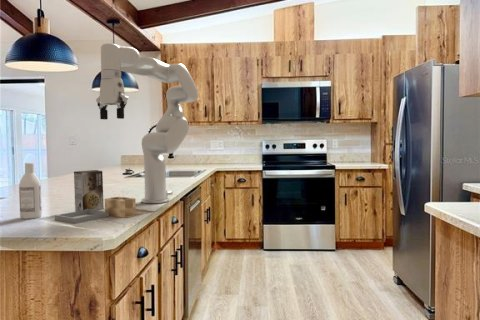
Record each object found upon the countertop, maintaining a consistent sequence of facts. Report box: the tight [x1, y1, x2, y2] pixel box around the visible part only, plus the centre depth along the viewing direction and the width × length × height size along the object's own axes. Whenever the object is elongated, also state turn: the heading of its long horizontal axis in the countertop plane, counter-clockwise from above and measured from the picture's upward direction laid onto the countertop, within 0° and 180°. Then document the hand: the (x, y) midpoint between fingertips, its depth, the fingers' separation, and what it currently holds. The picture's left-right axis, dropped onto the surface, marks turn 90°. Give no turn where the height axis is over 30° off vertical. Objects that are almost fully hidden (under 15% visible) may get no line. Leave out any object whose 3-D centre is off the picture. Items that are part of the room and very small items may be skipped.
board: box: [113, 208, 157, 219], centre depth 145 cm, size 15×12×1 cm
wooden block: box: [104, 196, 137, 218], centre depth 142 cm, size 9×6×6 cm
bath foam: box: [18, 162, 42, 220], centre depth 140 cm, size 7×7×20 cm
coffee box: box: [73, 169, 105, 212], centre depth 152 cm, size 9×6×16 cm
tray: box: [54, 209, 110, 224], centre depth 136 cm, size 14×12×2 cm
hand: (112, 118), depth 154 cm, fingers open, 9 cm apart
